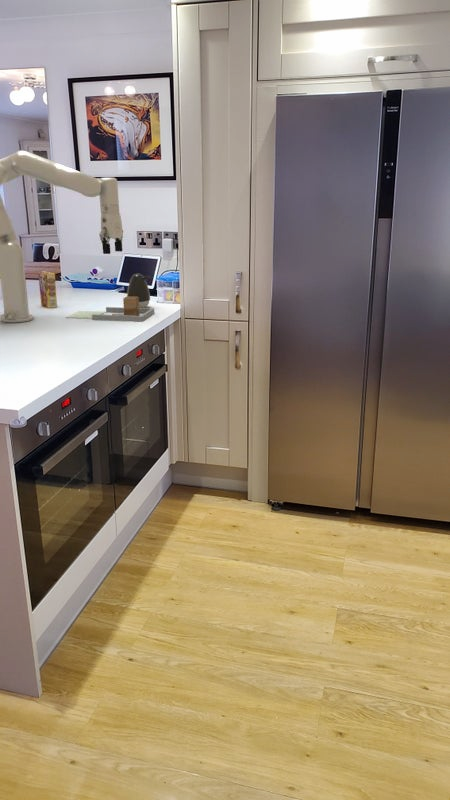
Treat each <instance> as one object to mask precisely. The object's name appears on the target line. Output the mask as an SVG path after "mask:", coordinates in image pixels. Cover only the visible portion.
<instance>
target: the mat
mask: <svg viewBox="0 0 450 800" xmlns="http://www.w3.org/2000/svg"><path fill="white" fill-rule="evenodd" d="M106 313H107V312H106V311H92V310H78V311H77V312H74V313H72V314H69V315H68V316H66V317H65V318H66V319H86V320H92V315H93V314H99V315H105V314H106Z"/></svg>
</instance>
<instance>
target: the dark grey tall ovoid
mask: <svg viewBox="0 0 450 800" xmlns="http://www.w3.org/2000/svg"><path fill="white" fill-rule="evenodd" d="M149 278H150V276H149V275H146V276H144V275H142V274H141V273H139V272H138V273H135V274H133V275H132V276H131V278H130V280H129V284H128V285H127V291H126V297H127V296H131V297H139V308H147V307H148V306H149V305H150V304H149V303H150V300H151V293H150V290H149V286H148V283H147V281H146V280H148V279H149Z"/></svg>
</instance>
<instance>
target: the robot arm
mask: <svg viewBox="0 0 450 800" xmlns="http://www.w3.org/2000/svg"><path fill="white" fill-rule="evenodd" d="M23 176H26V177H30V178H32V179H35V180H38V181H40V182H43V183H47V184H49V185H51V186H55V187H59V188H64V189H68V190H70V191H74V192H77V193H79V194H81V195H82V196H84V197H85V198H86V197H87V198H96V197H99V204H100V205H99V206H100V232H99V233H98V234H99V239H100V241H101V244H102V254H104V255H111V243H110V240H111V239H113V240H115V241H114V251H115V252H123V238H124V230H123V223H122V216H121V214H120V213H121V212H120V205H119V204H120V201H119V185H118V179H117V178H115V177H100V178H98V177H97V178H96V177H94V176H91V175H89V174H86V173H84V172H81V171H79V170H75V169H74V168H71V167H67V166H66V165H64V164H62V163H58V162H56V161H53V160H50V159H48V158H46V157H43V156H39V155H38V154H35V153H32V152H30V151H27V150H23V149H22V150H21V149H20V150H18V151H15V152H14V153H11V154H10V155H7V156H6V157H3V158H1V159H0V187H2V185H4V184H6V183H9V182H11V181H13V180H15V179H18V178H20V177H23ZM12 222H13V221H12V220H11V217H10V216H9V214H8V213H7V209H6V207H5V204H4V200H3V197H2V195H1V194H0V287H1V294H2V304H3V313H2V314H0V321H1V322H3V323H23V322H28V321H32V320H34V315H33V314H30V310H29V300H28V292H27V291H28V289H27V281H26V273H25V256H24V250H23V247H22V246H21V245H20V243H19V240H18V238H17V234H16V232H15V229H14V227H13V223H12Z"/></svg>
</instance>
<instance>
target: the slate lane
mask: <svg viewBox="0 0 450 800" xmlns="http://www.w3.org/2000/svg"><path fill="white" fill-rule="evenodd" d="M105 312H106V313H114V314H120V313H121V314H124V307H119V306H118V307H114V306H105ZM139 314H141V315H139V316H128V315H112V314H102V315H99V314H93V315H92V319H91V320H92V321H93V320H94V321H116V322H117V321H118V322H121V321H122V322H144V321H145V320H147V319H148V318H150V317H152V315H154V314H155V308H147V307H145V308H139Z"/></svg>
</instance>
